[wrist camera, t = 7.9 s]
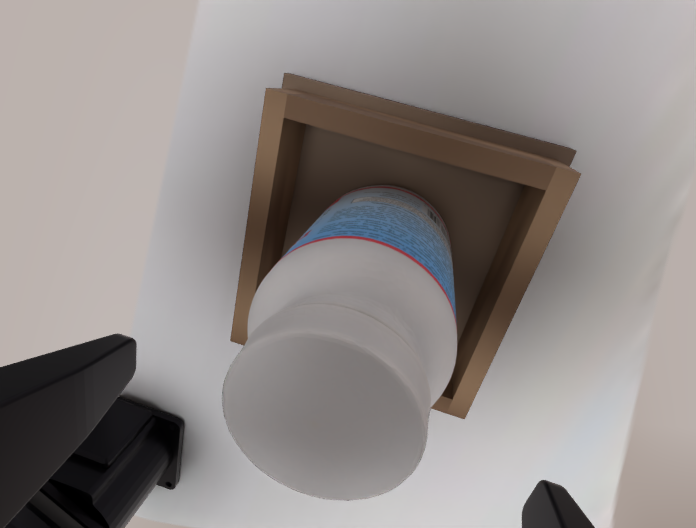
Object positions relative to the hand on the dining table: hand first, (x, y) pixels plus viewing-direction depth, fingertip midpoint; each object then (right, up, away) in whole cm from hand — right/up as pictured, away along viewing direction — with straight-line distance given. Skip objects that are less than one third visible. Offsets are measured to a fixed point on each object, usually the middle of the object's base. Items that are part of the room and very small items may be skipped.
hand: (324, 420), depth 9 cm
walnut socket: (+2, +4, +11) cm, 12 cm away
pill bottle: (+2, +4, +10) cm, 11 cm away
